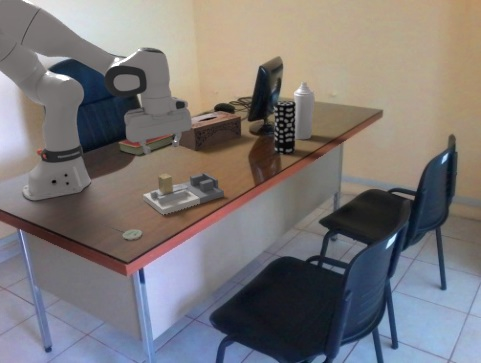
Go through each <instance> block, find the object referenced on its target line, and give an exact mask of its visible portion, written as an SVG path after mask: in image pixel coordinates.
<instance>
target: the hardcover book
mask: <svg viewBox="0 0 481 363" xmlns="http://www.w3.org/2000/svg"><path fill="white" fill-rule="evenodd" d="M173 137H175V134H170V135H166V136H161V137H157V138H152V139H148V140H146V143H144V144H145V145H146V146H148V147H150V149H151V150H150V151H151V152H152V151H153V150H156V149H158V148H159V149H160V148H162V147H164V146H167V145H170V144H172V141H173V140H174V138H173ZM118 150H119V151H122V152H125V153H129V154H133V155H137V156H139V155H142V154H145V153H144V148H143V147H142V146H141V144H140V143H139V142H134V143H133V142H131V141H129V140H128V139H126V140H123V141H120V142H118Z"/></svg>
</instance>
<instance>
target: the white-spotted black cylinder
mask: <svg viewBox="0 0 481 363" xmlns="http://www.w3.org/2000/svg"><path fill="white" fill-rule="evenodd" d="M295 116H296V103H295V101H292V100H278V101H275V102H274V153H275V154H278V155H283V156H285V155H292V154H294V153H296V139H295Z"/></svg>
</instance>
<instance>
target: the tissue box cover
mask: <svg viewBox="0 0 481 363" xmlns="http://www.w3.org/2000/svg"><path fill="white" fill-rule="evenodd" d="M191 122H192V127H191V129H190V130H188V131H183V132H181V138H180V140H179V146H181V147H184V148H187V149H190V150H192V151H194V152H197V151H201V150H203V149H208V148H210V147H214V146H218V145H221V144H225V143H227V142H230V141H234V140H237V139H241V138H242V116H241V115H237V114H233V113H229V112H226V111H221V110H219V111H214V112H210V113H206V114H202V115H199V116H195V117H191ZM175 136H176V135H175V134H174V137H175Z"/></svg>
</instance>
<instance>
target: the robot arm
mask: <svg viewBox="0 0 481 363" xmlns="http://www.w3.org/2000/svg"><path fill="white" fill-rule="evenodd" d="M38 54H39V55H42V56H43V57H44V56H45V57H48V58H60V57H61V58H69V59H72V60H76V61H77V62H79V63H81V64H83V65H86V66H87V67H89V68H90V69H93V70H95V71H96V72H98V73H100V74H101V75H102V76H103V77H104V87H105V89H106V90H107V91H108V93H109V94H110V95H112V96H113V97H116V98H119V99H120V98H123V99H125V98H129V97H134V96H137V95H140V102H141V107H139V108H135V109H129V110H128V111H126V113H125V114H124V116H123V119H124V124H125V136H126V140H129V141H131V142H133V143H134V142H139V143H140V144H141V146H142V147H143V148H144V153H143V154H145V155H149V154H151V153H152V150H151V149H150V147H148V146H146V145H145V144H144V143H146V140H148V139H152V138H157V137H161V136H166V135H170V134H173V135H174V138H173V141H172V143H171V145H172V147H173V148H177V147H180V145H179V140H180V138H181V132H183V131H188V130H190V129H191V127H192V122H191V118H192V116H191V112H190V110H189V109H188V106H189V103H188V101H187V100H185V99H183V98H179V97H176V96H172V91H171V88H170V81H171V76H170V68H169V62H168V59H167V56H166V54H165V53H164V51H162V50H160V49H158V48H155V47H140V48H138V49H137V50H135V52H133V53H132V54H130V55H129V56H123V55H117V54H116V55H115V54H112V53H110V52H108V51H106V50H104V49H103V48H101V47H98V45H95V44H93V43H92V42H90V41H88V40H87V39H85V38H84V37H83V38H82V37H81V36H80V35H78V34H77V33H76V32H75V31H73V30H72V29H71V28H70V27H69V26H68V25H66V24H65V23H63V21H61V20H60V19H59V18H57V17H55V15H53V14H52V13H50V12H48V11H47V10H46V9H44V8H42V7H41V6H39V5H36V4H35V3H33V2H31V1H29V0H0V72H1V73H2V74H3V75H5V76H6V77H7V78H9V79H10V80H11V81H12V82H13V83H14V84H15V85H16V86H17V87H18V89H19V90H21V92H22V93H23V94H24V96H25V97H26V98H28V99H29V100H30V101H32V102H33V103H35V104H36V105H40V106H44V107H45V117H44V118H45V119H44V121H43V123H42V125H41V131H42V137H43V140H44V141H43V142H44V145H45V146H44V147H45V148H44V149H41V148H38V149H37V150H36V154H37V155H38V156H40V159H41V160H40V162H39V163H37V165H35V166H34V167H33V168H32V170H30V171H29V173H28V176H27V184H26V185H24V186H23V187H22V194H23V196H24V197H25V199H27V200H31V201H41V200H46V199H50V198H57V197H62V196H67V195H72V194H77V193H80V192H81V191H83V190H84V189H85V188H87V186H89V185H90V184H91V182H92V180H91V178H90V176H89V173H88V171H87V168H86V166H85V162H84V152H83V151H84V150H83V147H82V143H80V138H79V132H78V125H77V124H78V123H77V121H78V120H77V118H78V112H79V111H78V110H79V106H80V105H82V102H83V100H84V97H85V92H84V87H83V85H82V84H81V83H80V82H79V81H78V80H76V79H75V78H72V77H70V76H69V75H66V74H60V73H55V72H52V71H50V70H49V69H48V68H46V66H44V64H43V63H42V62H41V61H40V59H39V56H38ZM175 135H176V136H175ZM150 150H151V151H150Z"/></svg>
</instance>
